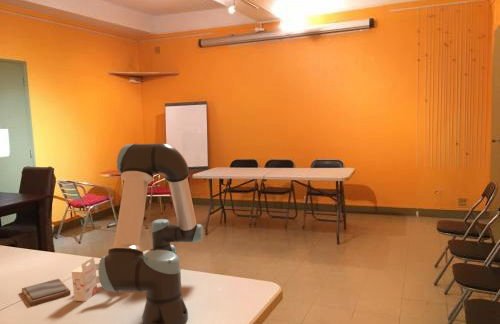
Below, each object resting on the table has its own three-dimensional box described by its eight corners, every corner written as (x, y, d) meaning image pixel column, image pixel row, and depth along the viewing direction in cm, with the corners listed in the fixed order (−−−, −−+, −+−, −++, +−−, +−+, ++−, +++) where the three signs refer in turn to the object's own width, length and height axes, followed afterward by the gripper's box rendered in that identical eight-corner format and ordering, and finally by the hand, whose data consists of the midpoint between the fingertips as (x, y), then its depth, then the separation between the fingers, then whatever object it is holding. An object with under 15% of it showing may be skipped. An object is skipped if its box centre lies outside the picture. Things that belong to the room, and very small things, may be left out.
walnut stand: (70, 294, 164) (70, 289, 164) (31, 305, 155) (30, 300, 155) (59, 282, 176) (58, 277, 176) (22, 292, 167) (21, 287, 167)
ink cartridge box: (86, 291, 166) (83, 255, 165) (98, 292, 165) (95, 256, 164) (73, 301, 158) (70, 263, 156) (85, 301, 157) (82, 264, 155)
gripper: (155, 278, 167) (102, 294, 153) (129, 261, 186) (80, 274, 173) (153, 260, 166) (100, 274, 153) (128, 245, 185) (79, 257, 172)
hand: (89, 274), depth 163 cm, fingers open, 13 cm apart
